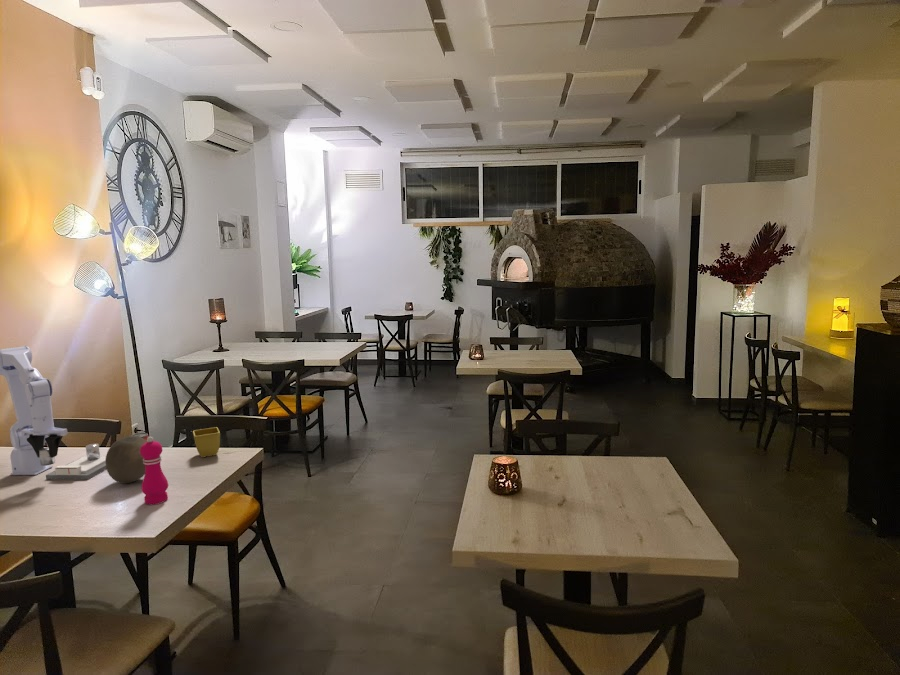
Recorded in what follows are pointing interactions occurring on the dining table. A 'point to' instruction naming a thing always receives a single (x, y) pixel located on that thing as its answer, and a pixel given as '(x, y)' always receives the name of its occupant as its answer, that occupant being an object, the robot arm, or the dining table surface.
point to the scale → (79, 469)
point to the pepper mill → (153, 473)
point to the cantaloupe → (126, 459)
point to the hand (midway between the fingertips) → (47, 456)
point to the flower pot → (207, 441)
